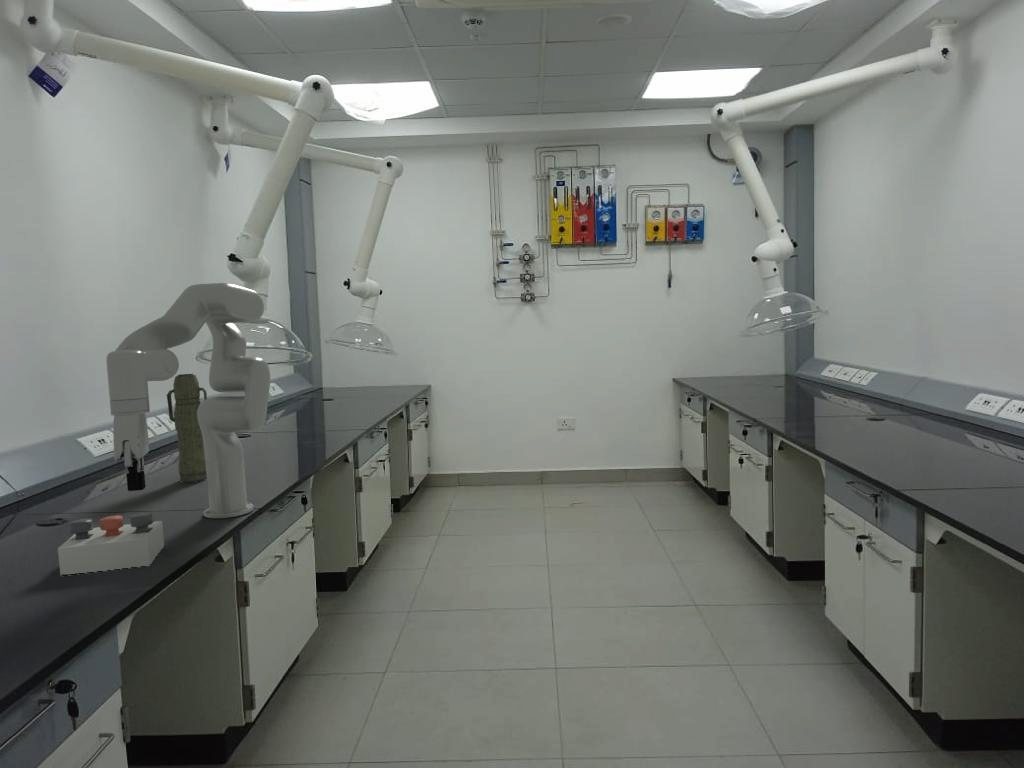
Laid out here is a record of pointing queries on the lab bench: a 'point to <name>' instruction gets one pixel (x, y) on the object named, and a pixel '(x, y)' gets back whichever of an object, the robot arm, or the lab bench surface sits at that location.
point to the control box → (111, 550)
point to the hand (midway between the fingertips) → (136, 489)
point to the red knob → (111, 525)
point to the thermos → (188, 427)
